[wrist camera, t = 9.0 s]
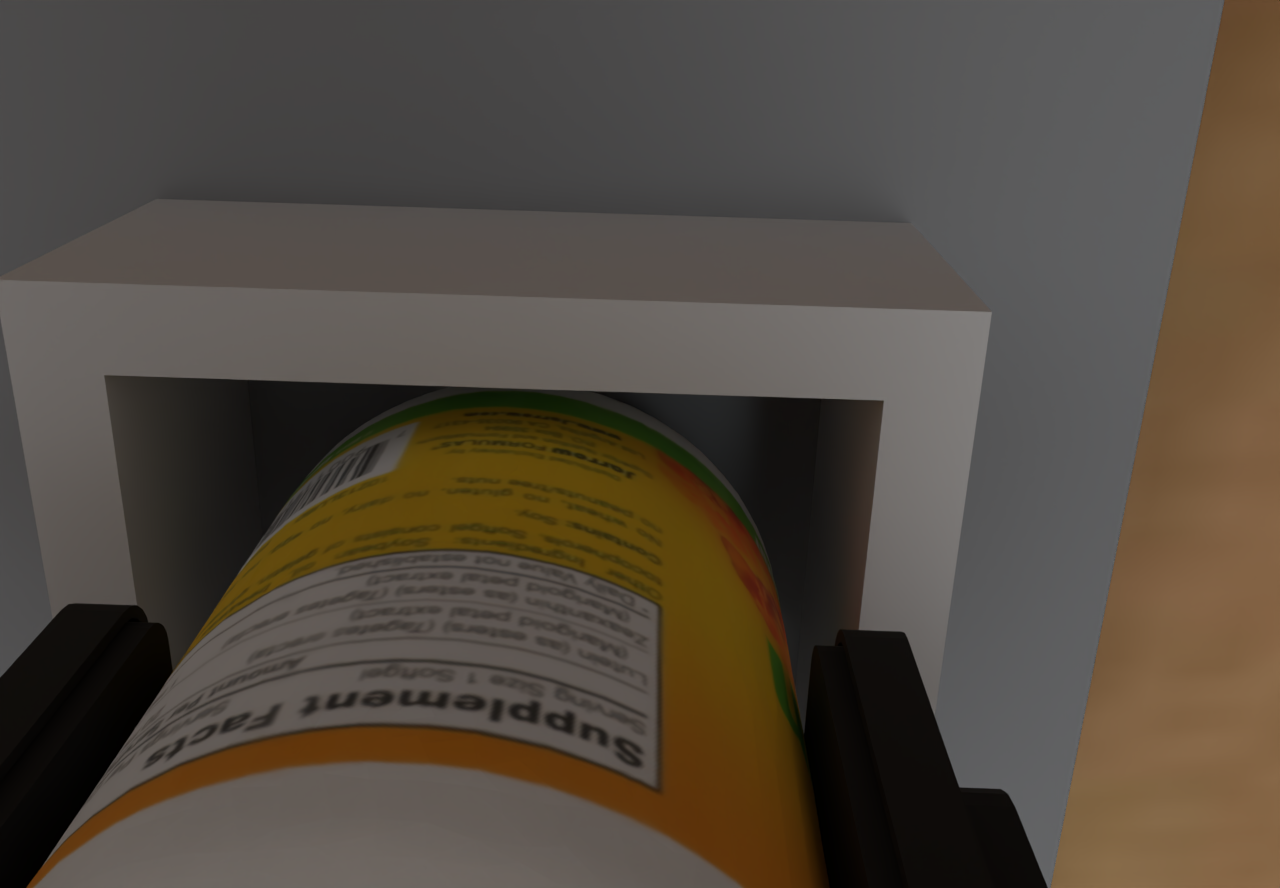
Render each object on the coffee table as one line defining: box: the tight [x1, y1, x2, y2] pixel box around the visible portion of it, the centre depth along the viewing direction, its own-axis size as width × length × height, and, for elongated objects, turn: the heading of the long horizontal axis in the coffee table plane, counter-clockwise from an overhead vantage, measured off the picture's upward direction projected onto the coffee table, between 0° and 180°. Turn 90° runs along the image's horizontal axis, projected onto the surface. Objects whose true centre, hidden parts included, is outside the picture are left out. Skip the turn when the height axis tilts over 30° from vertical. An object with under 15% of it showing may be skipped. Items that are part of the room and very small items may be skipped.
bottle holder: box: [0, 0, 1224, 888], centre depth 14 cm, size 14×14×5 cm
